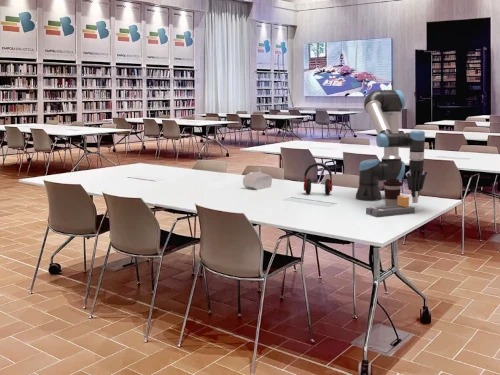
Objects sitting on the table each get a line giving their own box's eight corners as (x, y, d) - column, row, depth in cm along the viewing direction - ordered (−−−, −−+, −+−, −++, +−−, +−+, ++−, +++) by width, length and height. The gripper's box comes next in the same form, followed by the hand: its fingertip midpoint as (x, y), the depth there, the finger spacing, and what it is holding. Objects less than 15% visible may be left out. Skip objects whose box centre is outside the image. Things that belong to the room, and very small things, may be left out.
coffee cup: (392, 208, 337) (393, 181, 334) (379, 205, 345) (380, 179, 342) (404, 205, 343) (405, 179, 340) (391, 203, 350) (391, 177, 348)
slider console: (365, 213, 323) (366, 207, 323) (403, 209, 332) (403, 204, 332) (376, 217, 314) (376, 211, 314) (414, 213, 323) (414, 207, 323)
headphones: (332, 193, 384) (332, 162, 380) (331, 196, 374) (331, 164, 371) (304, 192, 387) (305, 161, 384) (303, 195, 378) (303, 163, 374)
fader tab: (397, 208, 328) (397, 195, 327) (401, 208, 329) (402, 195, 328) (403, 210, 323) (404, 197, 322) (408, 210, 324) (409, 197, 323)
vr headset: (260, 185, 417) (260, 164, 414) (273, 187, 409) (273, 166, 407) (242, 188, 404) (242, 167, 401) (255, 190, 396) (255, 168, 394)
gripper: (410, 161, 319) (409, 205, 323) (431, 159, 323) (429, 203, 327) (402, 159, 325) (400, 202, 329) (422, 158, 330) (420, 200, 334)
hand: (414, 202), depth 328 cm, fingers closed
